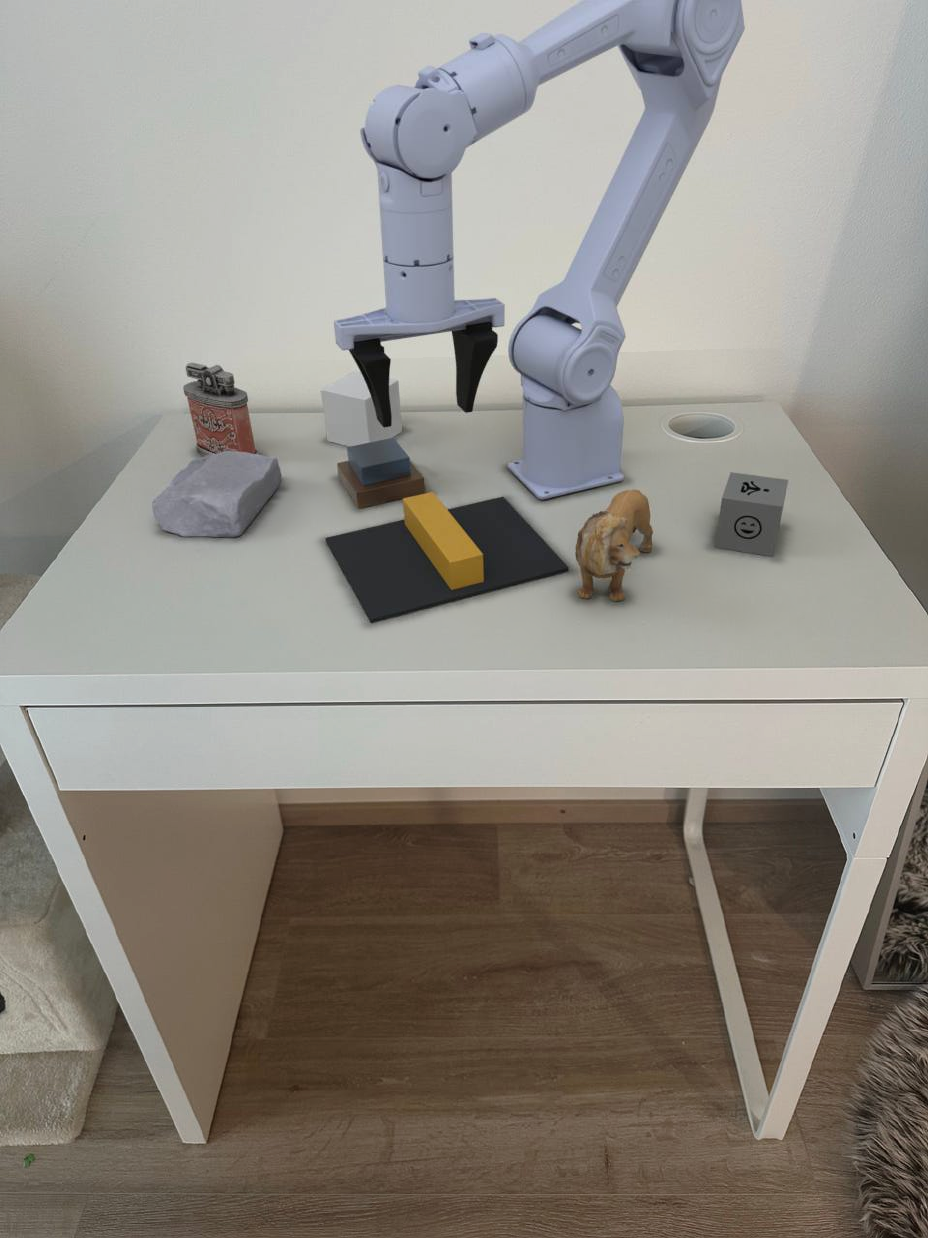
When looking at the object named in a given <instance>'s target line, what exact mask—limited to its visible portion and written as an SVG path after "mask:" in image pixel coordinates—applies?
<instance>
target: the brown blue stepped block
mask: <svg viewBox="0 0 928 1238" xmlns="http://www.w3.org/2000/svg"><path fill="white" fill-rule="evenodd" d="M346 452H347V460H345V461H340V462H337V463H336V468H337V475H338V479H339V481H340V483H341V485H342V486H343V487H344V489H345V490H346V492H347V493H348V495H349V497H350V498H351V500H352V501H353V503H354V505H355V506H356V507H357V509H363V508H367V507H372V506H377V505H380V504H381V505H382V504H385V503H389V502H395V501H398V500H403V498H407V497H412V496H416V495H421V494H425V493H426V488H425V487H426V485H425V477H424V476H423V475H422V473H421V471H419V470H418V469H417V467H416V466H415V465H414V463H412V461H411V457H410V456H409V455H408V453H406V451H405V450H404V448H403V447H402V446H401V445H400V444H399V442H398V441H397V440H396V439H395V437H393V438H389V439H384V440H379V441H375V442H370V443H365V444H360V445H355V446H350V447H349V446H346Z"/></svg>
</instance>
